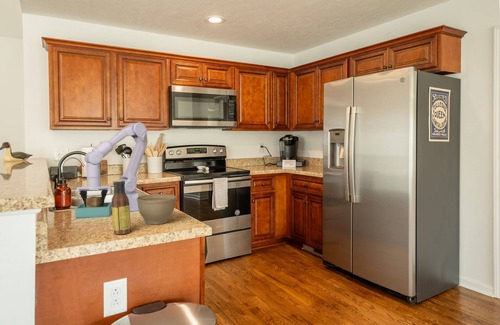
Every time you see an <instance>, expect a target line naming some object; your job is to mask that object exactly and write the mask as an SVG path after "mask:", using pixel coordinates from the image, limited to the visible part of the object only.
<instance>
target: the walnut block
mask: <svg viewBox="0 0 500 325" xmlns="http://www.w3.org/2000/svg"><path fill="white" fill-rule="evenodd" d="M101 202H102V198H101V195H100V196H96V195H95V196H89V197H88V196H87V198H86V208H92V207H102V205H101Z"/></svg>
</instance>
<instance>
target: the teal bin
mask: <svg viewBox="0 0 500 325" xmlns="http://www.w3.org/2000/svg"><path fill="white" fill-rule="evenodd" d="M74 211H75V216H74V217H75V219H90V218H91V219H92V218H104V217H105V218H107V217H110V216H111V214H112V201H111V202H104V206H102V207H92V208H86V207H85V205H84V203H80V204H79V205H77V206H76V207H75V208H74Z"/></svg>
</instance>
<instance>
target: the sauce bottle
mask: <svg viewBox="0 0 500 325" xmlns="http://www.w3.org/2000/svg"><path fill="white" fill-rule="evenodd" d="M112 183H113V184H112V185H113V188H114V189H113V190H114V191H113V193H114V194H113V196H112V198H111V202H112V213H111V214H112V229H113V233H114V235H118V234H119V235H121V236H122V235H127V234H129V233H131V231H132V230H131V228H132V225H131V223H132V222H131V211H130V206H129V199H128V197H127V195H126V193H125V181H124V180H120V179H118V180H113V182H112Z"/></svg>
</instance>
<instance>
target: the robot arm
mask: <svg viewBox="0 0 500 325" xmlns="http://www.w3.org/2000/svg"><path fill="white" fill-rule="evenodd" d="M147 132H148V128H147V127H146V125H145V124H144V123H142V121H141V122H140V121H139V122H130V123H128V124H126V125H125V126H123V128H121V129H120V130H119V131H118V132H117V133H116V134H115V135H113V136H112V137H111V138H110V139H109V140H104V141H102V140H101V141H100V142H99V144H98V145H97V146H96V147H95V148H91V151H89V152H86V153H85V156H84V158H83V160H84V161H85V163H86V186H78V187H76V193H77V192H78V193H79V196H80V197H81V199H82V201H83V204H84V205H85V207H86V198H88V192H97V191H98V192H100V196H101V198H102V202H101V205H102V206H104V203H105V200H106V197H107V194H108V192H111V190H112V187H111V186H112V185H101V167H100V166H101V162H102V161H103V160H102V159H104V158H105V157H106V156H108V154H110V153H111V152H112V151H114V146H116V144H118V143H120V142H121V141H122V140H124V139H125V138H126V137H132V138H133V140H134V142H135V144H134V147H133V150H132V152H131V153H132V154H131V156H130V159H129V161H128V163H127V165H126V168H125V172H124V173H123V174H122V175H121V177H120V179H119V180H124V181H125V193H126V195H127V197H128V199H129V206H130V212H138V211H139V209H138V202H137V197H139V196H140V192H137V191H136V189H137V187H138V185H137V181H138V177H137V174H138V172H139V171H138V170H139V169H140V166H141V162H142V159H143V157H144V154H145V151H146V148H147V146H148V142H149V141H148V134H147Z"/></svg>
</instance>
